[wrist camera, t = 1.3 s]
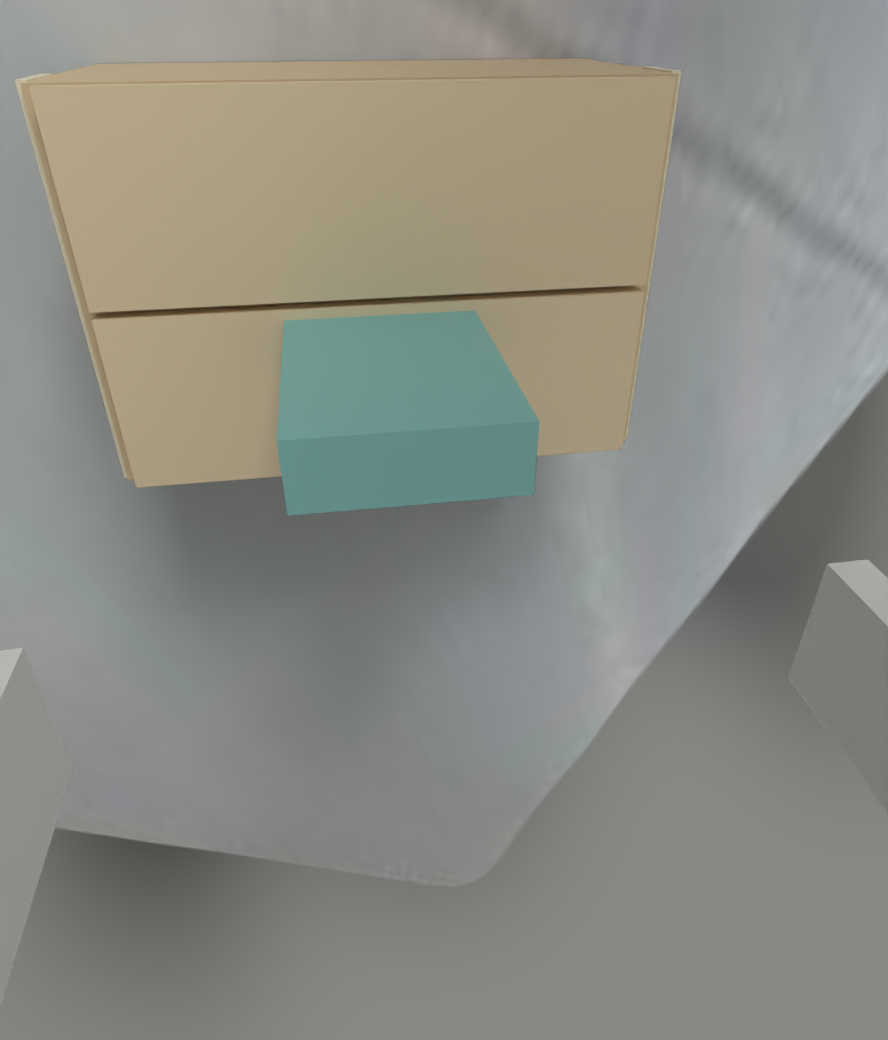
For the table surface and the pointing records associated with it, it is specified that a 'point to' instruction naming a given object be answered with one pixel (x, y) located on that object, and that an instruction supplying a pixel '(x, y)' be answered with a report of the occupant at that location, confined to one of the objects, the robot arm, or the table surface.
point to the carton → (349, 181)
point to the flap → (373, 393)
